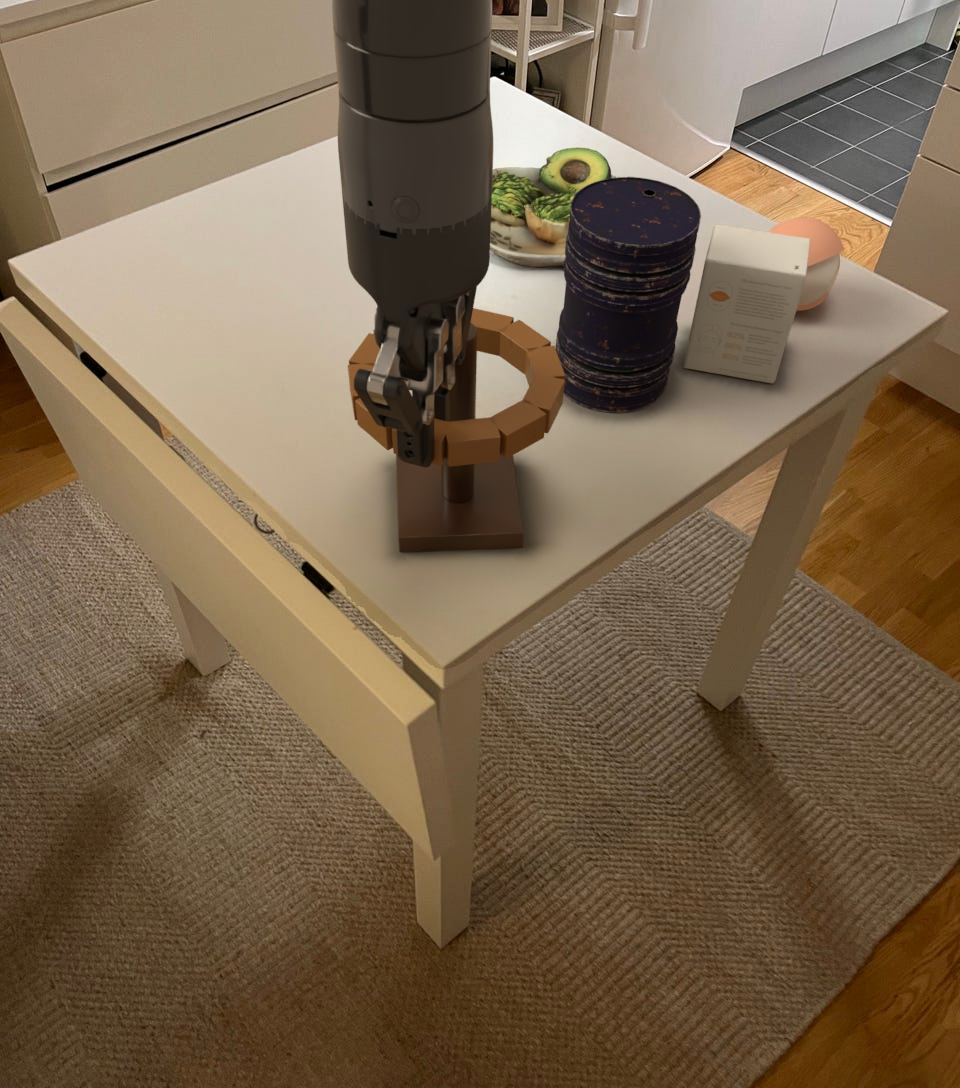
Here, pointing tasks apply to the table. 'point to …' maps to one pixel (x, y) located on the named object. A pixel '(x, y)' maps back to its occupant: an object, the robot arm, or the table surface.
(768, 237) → the small box
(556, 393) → the ring
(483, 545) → the peg
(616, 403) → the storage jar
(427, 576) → the table surface
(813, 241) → the toy ball
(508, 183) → the avocado toast plate
